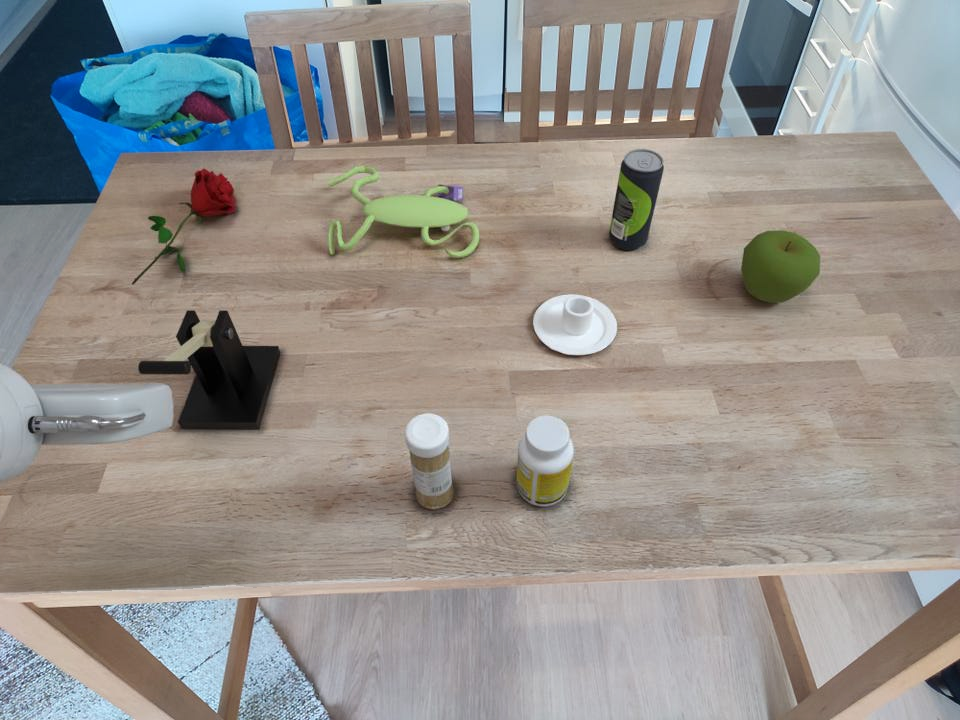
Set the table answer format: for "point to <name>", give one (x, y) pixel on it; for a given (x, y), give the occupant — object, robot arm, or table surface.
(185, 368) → the lever
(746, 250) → the apple
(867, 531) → the table surface
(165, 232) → the flower
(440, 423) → the sprinkles bottle
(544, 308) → the candle holder
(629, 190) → the beverage can
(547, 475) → the pill bottle
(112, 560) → the table surface
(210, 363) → the bracket
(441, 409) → the table surface
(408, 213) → the figurine
